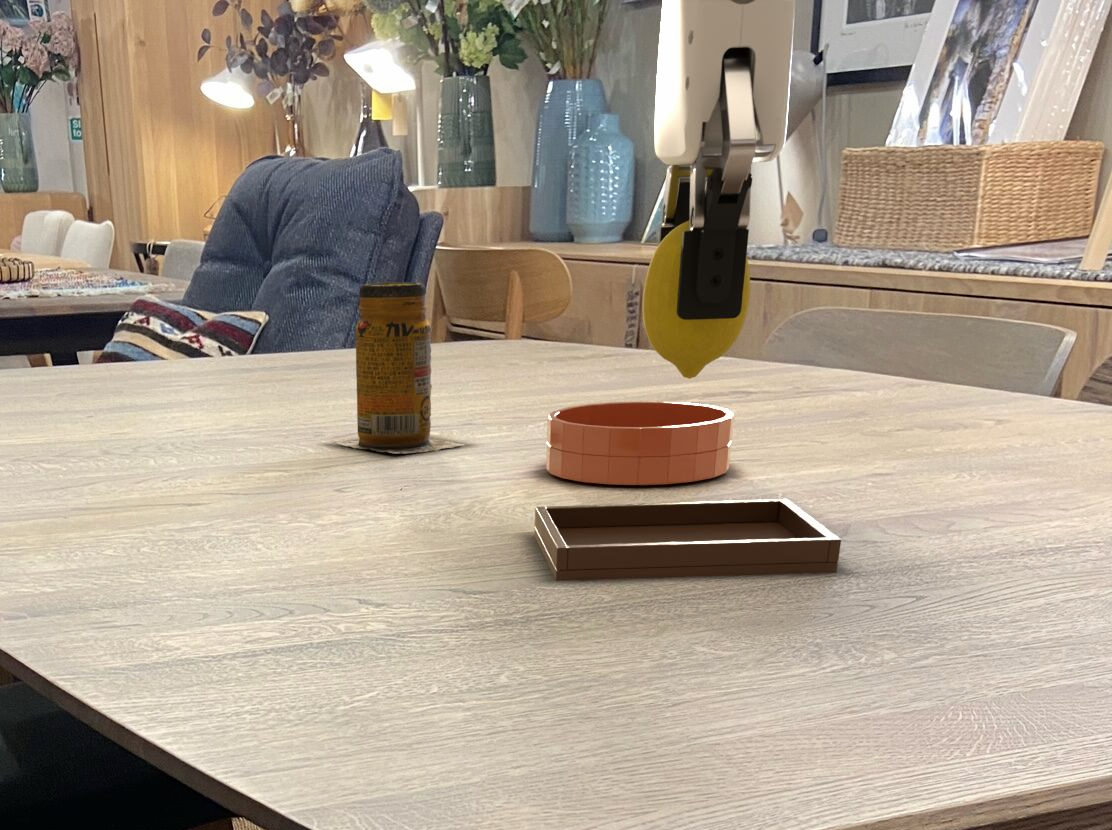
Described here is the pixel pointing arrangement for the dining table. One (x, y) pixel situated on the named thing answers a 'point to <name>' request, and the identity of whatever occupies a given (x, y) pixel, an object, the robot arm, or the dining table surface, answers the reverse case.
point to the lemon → (674, 336)
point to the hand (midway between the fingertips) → (695, 309)
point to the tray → (683, 540)
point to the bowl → (639, 442)
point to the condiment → (394, 370)
